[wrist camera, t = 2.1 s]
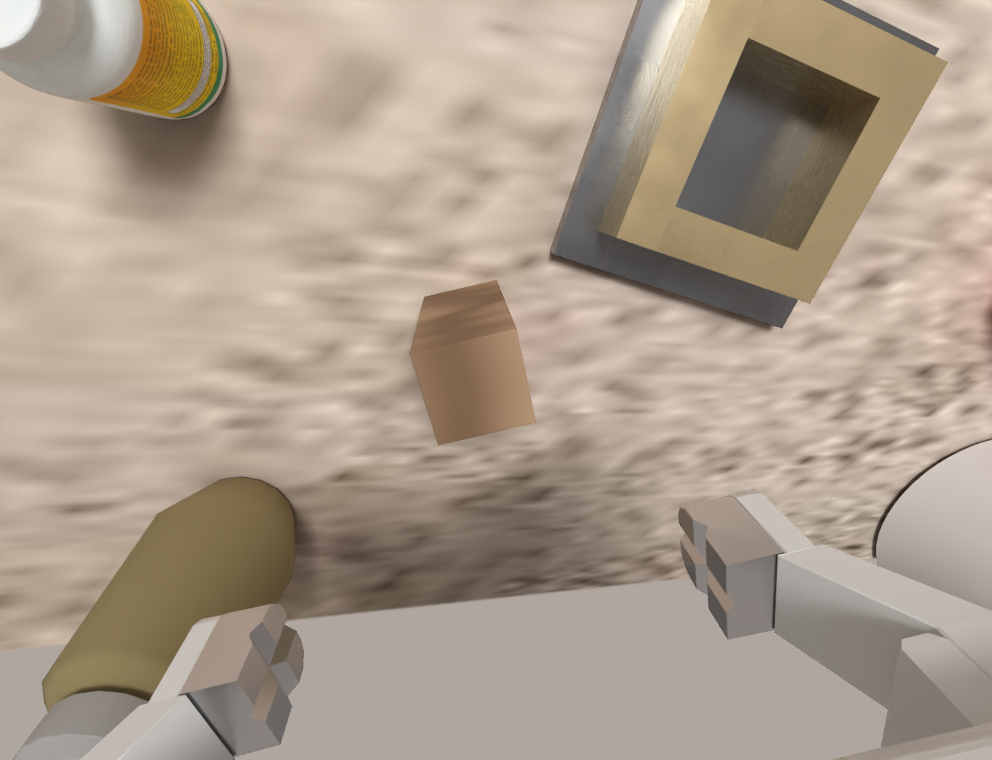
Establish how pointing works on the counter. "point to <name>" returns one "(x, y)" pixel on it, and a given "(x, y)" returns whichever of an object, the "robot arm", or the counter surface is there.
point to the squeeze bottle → (164, 608)
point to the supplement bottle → (116, 53)
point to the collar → (742, 147)
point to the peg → (470, 364)
